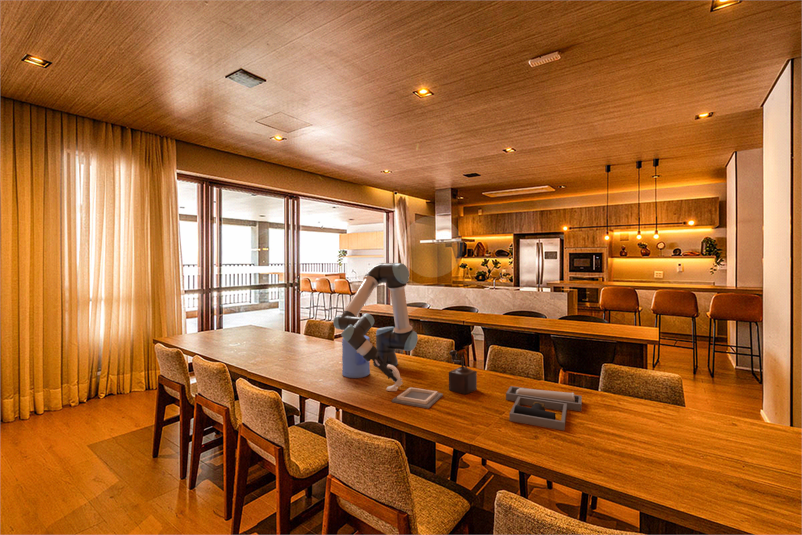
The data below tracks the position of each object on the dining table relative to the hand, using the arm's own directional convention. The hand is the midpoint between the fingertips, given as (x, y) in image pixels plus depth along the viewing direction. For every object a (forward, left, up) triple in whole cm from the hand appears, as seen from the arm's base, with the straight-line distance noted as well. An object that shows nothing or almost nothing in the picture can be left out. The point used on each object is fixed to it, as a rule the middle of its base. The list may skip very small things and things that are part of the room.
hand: (400, 382), depth 188 cm
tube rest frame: (-14, +66, -3) cm, 67 cm away
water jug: (-12, -34, -4) cm, 37 cm away
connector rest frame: (+4, +66, -3) cm, 66 cm away
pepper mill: (-14, +26, -4) cm, 30 cm away
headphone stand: (+2, -3, -4) cm, 5 cm away
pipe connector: (+7, +65, -4) cm, 65 cm away
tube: (-15, +66, -4) cm, 68 cm away
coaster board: (+8, +13, -3) cm, 15 cm away
